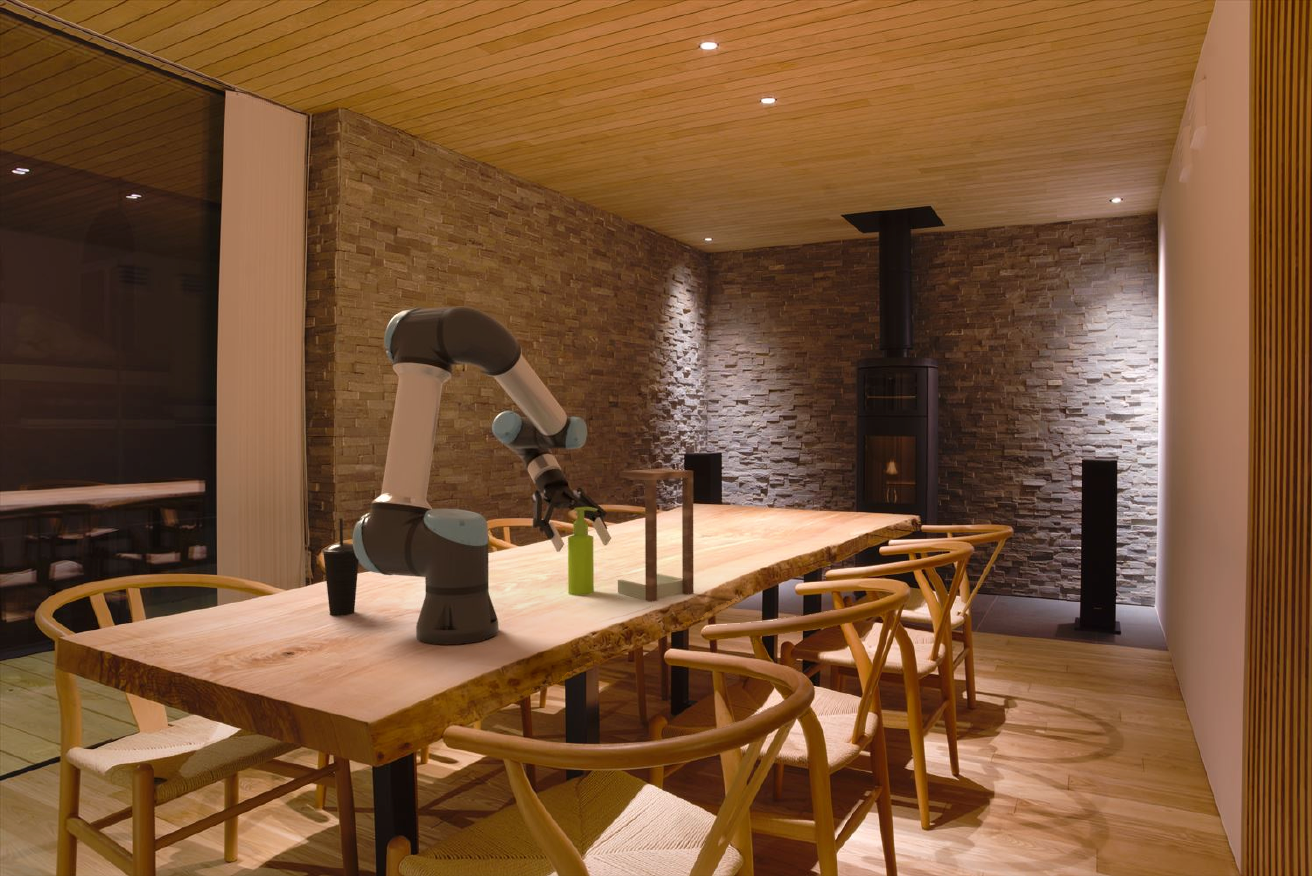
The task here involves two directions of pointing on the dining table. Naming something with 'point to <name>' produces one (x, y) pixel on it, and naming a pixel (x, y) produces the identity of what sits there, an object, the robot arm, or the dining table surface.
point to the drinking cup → (341, 576)
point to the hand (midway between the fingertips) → (584, 545)
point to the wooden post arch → (651, 525)
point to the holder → (664, 587)
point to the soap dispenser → (580, 556)
